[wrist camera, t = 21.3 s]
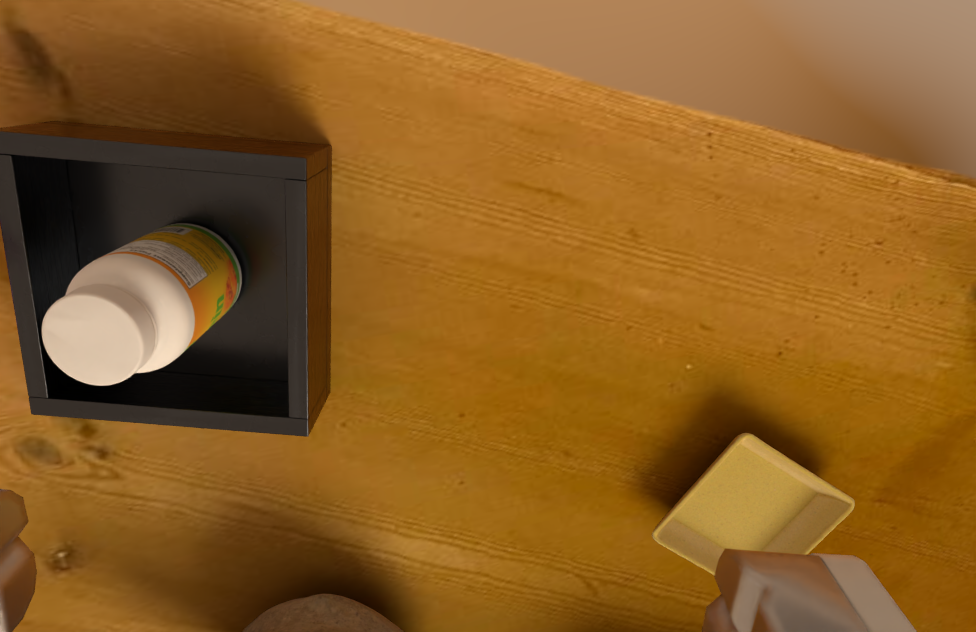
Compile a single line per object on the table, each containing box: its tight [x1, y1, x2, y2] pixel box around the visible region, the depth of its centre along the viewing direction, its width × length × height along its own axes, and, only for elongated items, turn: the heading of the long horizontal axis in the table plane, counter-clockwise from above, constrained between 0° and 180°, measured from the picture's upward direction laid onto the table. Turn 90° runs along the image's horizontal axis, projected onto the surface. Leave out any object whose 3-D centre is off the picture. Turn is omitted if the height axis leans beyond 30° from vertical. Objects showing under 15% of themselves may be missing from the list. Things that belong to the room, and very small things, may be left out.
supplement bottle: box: [42, 223, 242, 386], centre depth 32 cm, size 5×5×10 cm
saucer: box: [652, 433, 855, 575], centre depth 41 cm, size 9×9×2 cm
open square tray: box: [0, 121, 332, 436], centre depth 35 cm, size 14×14×5 cm
